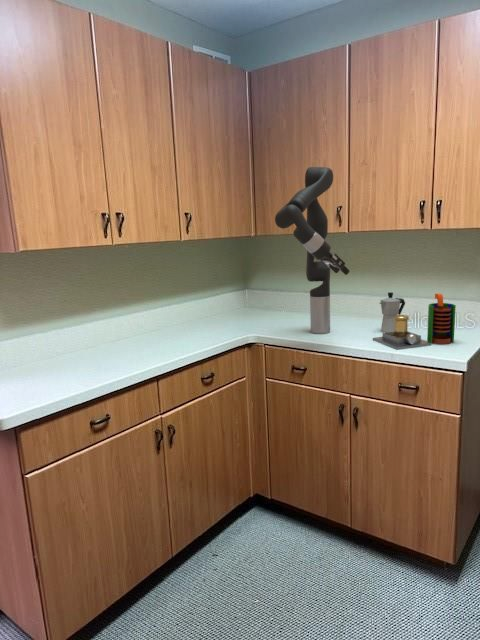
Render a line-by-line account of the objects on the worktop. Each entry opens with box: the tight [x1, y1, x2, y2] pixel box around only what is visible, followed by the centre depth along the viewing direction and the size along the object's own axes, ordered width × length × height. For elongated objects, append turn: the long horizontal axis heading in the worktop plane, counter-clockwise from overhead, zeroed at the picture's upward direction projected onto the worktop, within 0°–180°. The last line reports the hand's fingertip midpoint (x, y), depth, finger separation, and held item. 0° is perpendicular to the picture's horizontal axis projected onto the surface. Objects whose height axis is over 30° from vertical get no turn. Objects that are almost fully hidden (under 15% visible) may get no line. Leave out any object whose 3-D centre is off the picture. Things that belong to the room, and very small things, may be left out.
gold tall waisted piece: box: [394, 314, 410, 338], centre depth 202 cm, size 6×6×10 cm
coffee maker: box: [379, 291, 406, 333], centre depth 224 cm, size 15×9×18 cm, turn 115°
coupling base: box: [372, 330, 433, 351], centre depth 203 cm, size 18×16×5 cm
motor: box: [426, 292, 457, 346], centre depth 199 cm, size 10×9×20 cm
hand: (342, 272), depth 197 cm, fingers open, 8 cm apart
